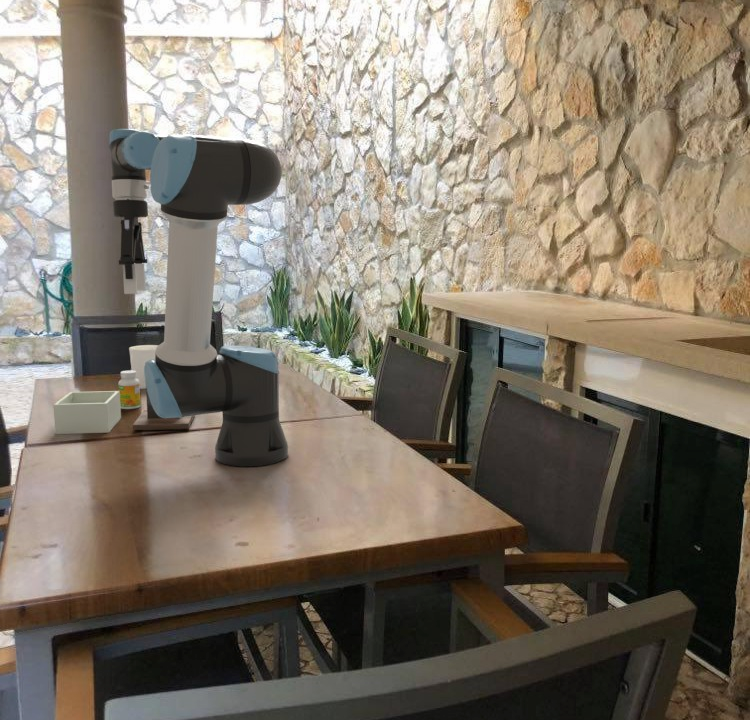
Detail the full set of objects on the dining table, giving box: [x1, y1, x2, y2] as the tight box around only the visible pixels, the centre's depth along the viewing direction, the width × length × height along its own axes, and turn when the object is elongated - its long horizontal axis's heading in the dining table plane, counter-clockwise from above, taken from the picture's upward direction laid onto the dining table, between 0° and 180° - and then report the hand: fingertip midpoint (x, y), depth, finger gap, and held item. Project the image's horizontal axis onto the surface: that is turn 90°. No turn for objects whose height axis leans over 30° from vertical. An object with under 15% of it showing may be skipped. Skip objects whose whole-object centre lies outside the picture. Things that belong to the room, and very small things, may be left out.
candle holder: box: [128, 344, 160, 390], centre depth 228 cm, size 10×10×12 cm
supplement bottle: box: [117, 369, 141, 410], centre depth 200 cm, size 5×5×10 cm
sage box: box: [53, 390, 122, 435], centre depth 181 cm, size 14×12×7 cm
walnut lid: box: [132, 388, 196, 432], centre depth 183 cm, size 15×13×10 cm
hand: (135, 292), depth 175 cm, fingers open, 13 cm apart
